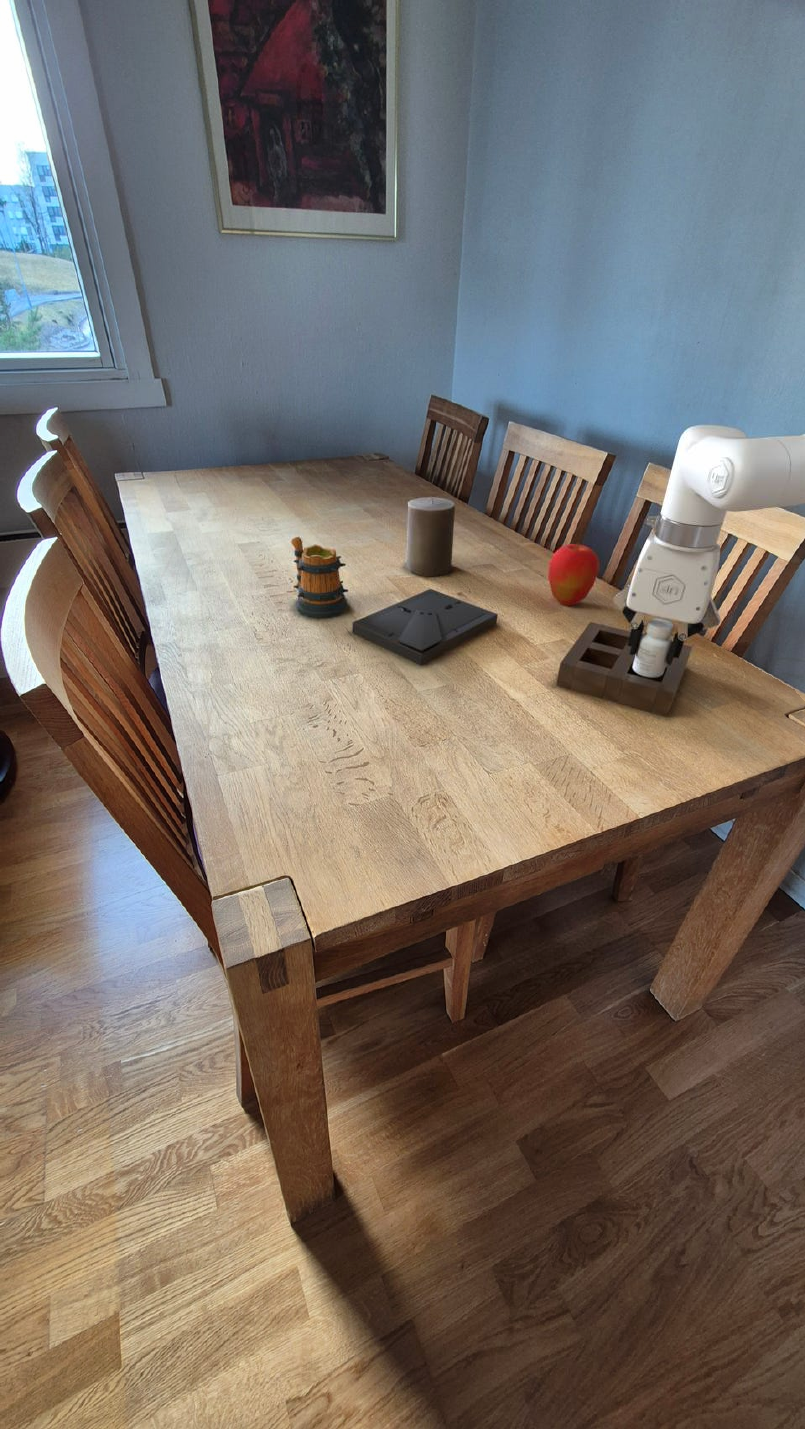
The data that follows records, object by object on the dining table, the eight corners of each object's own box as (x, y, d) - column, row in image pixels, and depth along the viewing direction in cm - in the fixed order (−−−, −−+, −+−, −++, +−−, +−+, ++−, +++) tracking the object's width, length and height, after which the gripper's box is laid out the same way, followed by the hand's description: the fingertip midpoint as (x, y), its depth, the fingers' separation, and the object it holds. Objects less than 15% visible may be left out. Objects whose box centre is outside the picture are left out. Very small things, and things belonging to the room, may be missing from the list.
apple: (596, 613, 118) (609, 551, 111) (548, 611, 118) (559, 549, 111) (585, 593, 125) (597, 534, 118) (540, 591, 125) (549, 532, 118)
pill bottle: (654, 662, 94) (667, 616, 90) (668, 677, 91) (683, 629, 86) (626, 664, 94) (639, 617, 89) (640, 679, 90) (654, 631, 86)
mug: (360, 608, 117) (359, 548, 110) (316, 624, 111) (312, 561, 104) (318, 587, 124) (315, 529, 118) (275, 600, 118) (269, 541, 112)
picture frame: (420, 665, 100) (496, 624, 112) (421, 650, 98) (498, 610, 111) (352, 633, 108) (430, 598, 121) (352, 618, 107) (430, 585, 119)
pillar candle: (452, 577, 130) (457, 504, 122) (405, 575, 130) (407, 502, 122) (450, 560, 138) (455, 491, 130) (406, 559, 138) (408, 489, 130)
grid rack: (685, 668, 101) (692, 646, 99) (666, 717, 89) (674, 693, 87) (585, 642, 108) (590, 621, 105) (556, 685, 96) (560, 662, 93)
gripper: (614, 527, 81) (587, 651, 91) (756, 552, 74) (710, 683, 85) (627, 513, 87) (600, 631, 97) (761, 535, 80) (717, 660, 90)
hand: (652, 654), depth 91 cm, fingers closed on pill bottle, 4 cm apart
